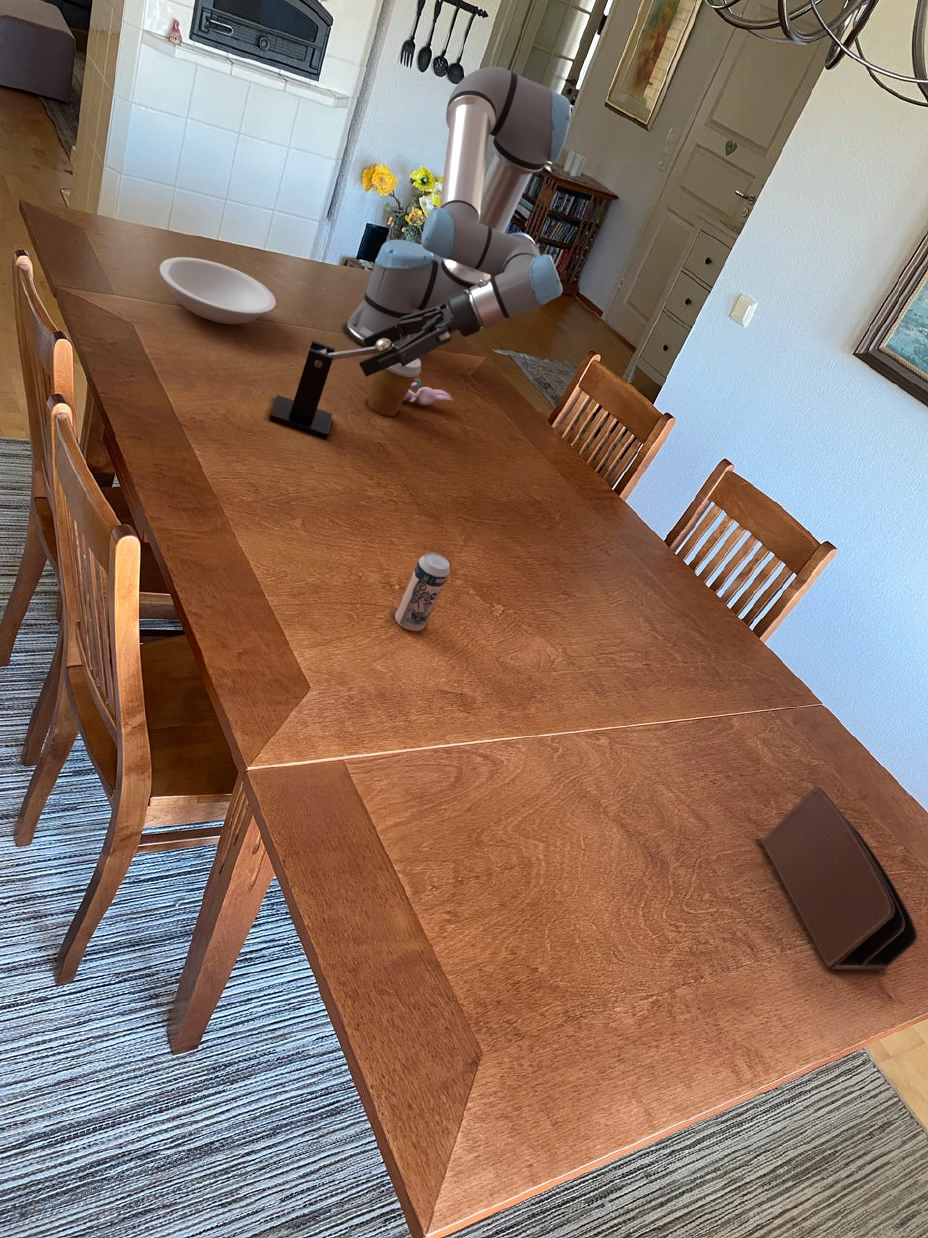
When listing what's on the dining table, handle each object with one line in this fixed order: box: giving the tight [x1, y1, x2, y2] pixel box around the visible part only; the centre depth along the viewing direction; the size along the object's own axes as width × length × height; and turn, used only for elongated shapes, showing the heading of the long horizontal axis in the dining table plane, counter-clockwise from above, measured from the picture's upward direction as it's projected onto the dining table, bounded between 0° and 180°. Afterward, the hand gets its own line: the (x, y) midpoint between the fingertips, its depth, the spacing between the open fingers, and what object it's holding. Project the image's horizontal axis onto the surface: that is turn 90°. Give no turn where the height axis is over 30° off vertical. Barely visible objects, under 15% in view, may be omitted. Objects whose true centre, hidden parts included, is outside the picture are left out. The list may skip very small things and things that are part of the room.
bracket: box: [268, 339, 336, 440], centre depth 172 cm, size 11×9×15 cm
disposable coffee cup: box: [367, 347, 422, 417], centre depth 190 cm, size 10×10×12 cm
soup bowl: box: [159, 256, 277, 325], centre depth 195 cm, size 24×24×7 cm
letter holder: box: [760, 786, 918, 971], centre depth 123 cm, size 10×20×14 cm, turn 13°
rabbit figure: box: [403, 378, 454, 406], centre depth 200 cm, size 6×6×15 cm
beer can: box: [394, 552, 451, 632], centre depth 137 cm, size 5×5×12 cm
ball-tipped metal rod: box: [316, 338, 394, 361], centre depth 168 cm, size 15×4×4 cm, turn 91°
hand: (364, 357), depth 169 cm, fingers open, 11 cm apart
